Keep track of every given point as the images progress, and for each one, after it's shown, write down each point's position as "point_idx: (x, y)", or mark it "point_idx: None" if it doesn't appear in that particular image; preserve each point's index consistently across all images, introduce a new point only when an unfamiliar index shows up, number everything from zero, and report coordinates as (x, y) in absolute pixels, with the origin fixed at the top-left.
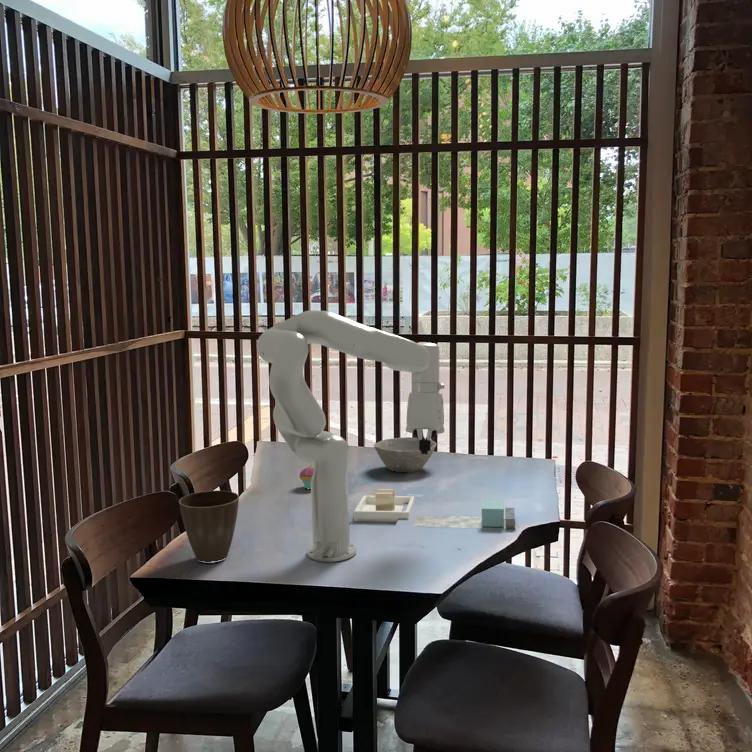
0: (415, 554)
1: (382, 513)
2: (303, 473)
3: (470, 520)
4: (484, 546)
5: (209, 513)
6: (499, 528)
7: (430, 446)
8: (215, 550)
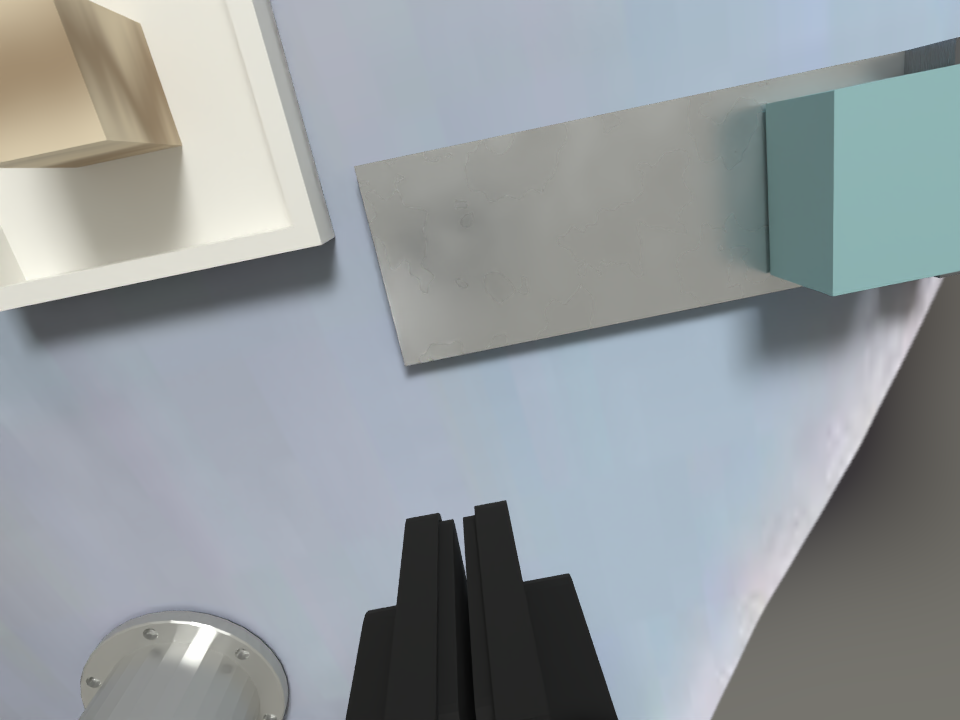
0: None
1: (163, 277)
2: None
3: (695, 178)
4: (777, 460)
5: None
6: None
7: (582, 617)
8: None
